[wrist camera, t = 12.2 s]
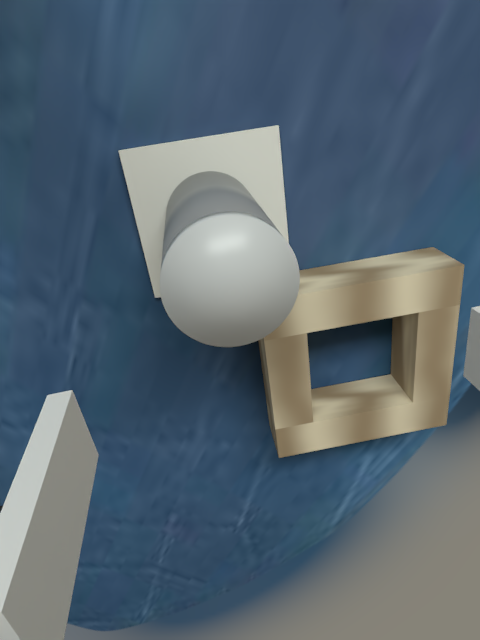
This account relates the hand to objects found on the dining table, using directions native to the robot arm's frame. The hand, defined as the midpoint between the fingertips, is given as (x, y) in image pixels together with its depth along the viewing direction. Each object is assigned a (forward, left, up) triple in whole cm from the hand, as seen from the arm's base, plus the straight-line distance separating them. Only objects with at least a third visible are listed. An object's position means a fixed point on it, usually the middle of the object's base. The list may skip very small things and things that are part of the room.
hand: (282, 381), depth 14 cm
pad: (-1, +1, -18) cm, 18 cm away
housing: (+8, -11, -18) cm, 22 cm away
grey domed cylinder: (-1, +1, -18) cm, 18 cm away
